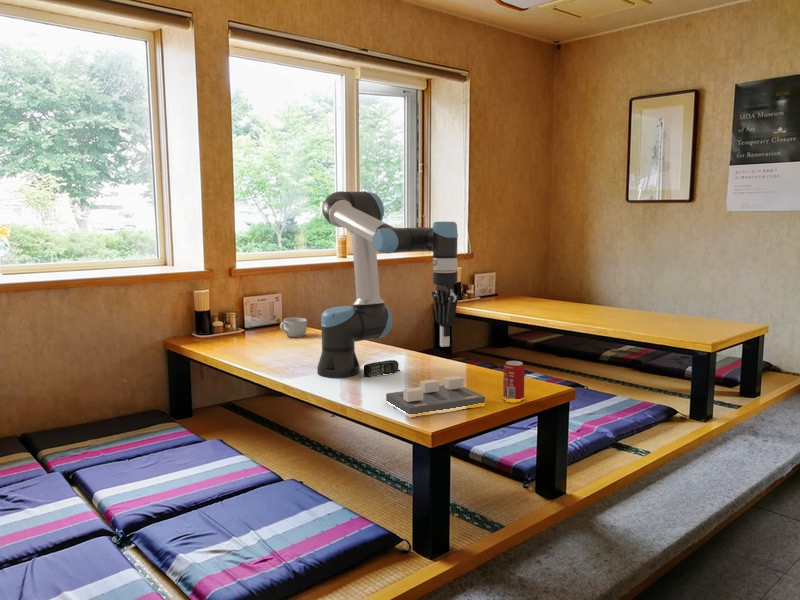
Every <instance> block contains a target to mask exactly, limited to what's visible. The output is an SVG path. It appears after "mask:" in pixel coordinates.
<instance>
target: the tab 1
mask: <svg viewBox="0 0 800 600" xmlns="http://www.w3.org/2000/svg"><path fill="white" fill-rule="evenodd" d="M402 391H403V399H404V400H405V401H407V402H411V401H418V400H423V389H421V388H420V386H417V387H410V388H409V387H408V388H403V389H402Z"/></svg>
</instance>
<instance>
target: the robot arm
mask: <svg viewBox="0 0 800 600" xmlns="http://www.w3.org/2000/svg"><path fill="white" fill-rule="evenodd" d="M321 208H322V209H321V210H322V216H323V218H324V219H325V220H326V221H327V222H328V223H329V224H330V225H332V226H334V227H335V228H336V227H337V228H344V229H345V230H347V231H348V233H350V234H351V245H352V257H353V267H354V268H353V271H354V281H355V282H354V283H355V296H356V299H355V301H354V302H353V303H352V306H351V305H341V306H339V305H338V306H334V307H330V308H327V309H325V310H324V311H323V312H322V314H321V321H320V325H321V354H320V357H319V361H318V363H317V367H316V369H317V374H318V375H319V376H321V377H325V376H326V378H347V377H346V376H349V377H353V376H356V375H359V374H360V372H361V370H360V369H361V368H360V367H361V366H360V364H359V363H360V362H359V359H358V357H357V353H356V350H355V343H357V342H361V341H369V340H376V339H381V338H384V337H386V336H387V335H388V334H389V332H390V331H391V329H392V325H393V316H392V315H393V314H392V312H391V309H390V308H389V307H387V306H386V305H385V301H384V300H383V299H382V298H381V296H380V282H379V270H378V267H379V266H378V258H377V256H378V255H377V253H379V254H392V253H393V254H394V253H406V252H408V253H409V252H410V253H412V252H432V265H433V266H432V270H433V273H432V283H433V284H434V285H436V287H435V291H432V292H431V296H432V299H433V308H434V317H435V322H436V323H438V325H439V346H440V347H442V348H444V347H445V348H446V347H450V345H451V344H450V342H451V341H450V340H451V339H450V338H451V336H450V335H451V331H450V330H451V326H452V325H455V319H456V314H457V313H456V312H457V305H458V302H459V299H460V297H459V295H456V293H455V287H454V285H457V284H458V272H457V271H458V237H459V235H458V225H457V223H456V222H455V221H434V222H433V224H432V227H425V226H416V227H394V226H393V225H389V224H387V223H386V222H384V221H383V219H384V216H385V207H384V204H383V201H382V199H381V197H379V195H378V194H377V193H375V192H371V191H366V190H365V191H343V190H341V191H335V192H333V193H331V194H329V195H328V196H326V198H325V200H324V201H323V204H322V207H321ZM352 375H353V376H352Z"/></svg>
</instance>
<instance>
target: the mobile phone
mask: <svg viewBox="0 0 800 600" xmlns="http://www.w3.org/2000/svg"><path fill="white" fill-rule="evenodd" d="M397 371H399V372H401V369H399V362H398V361H397V360H396V359H390V360H389V359H388V360H384V361H383V360H382V361H377V362H376V361H375V362H370V363H366V364H364V365H363V377H364V378H365V377H369V378H372V377H371V376H376V377H378V376H377V375H382V376H384V375H383V374H390V373H393V374H395V372H396V373H398V372H397ZM390 375H391V374H390Z"/></svg>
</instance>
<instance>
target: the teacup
mask: <svg viewBox="0 0 800 600" xmlns="http://www.w3.org/2000/svg"><path fill="white" fill-rule="evenodd" d="M307 322H308V319H306V318H304V317H303V318H302V317H285V318H284V319H283V321H282V322H281V323H279V328H280V331H282V332H284V334H285V335H286V336H287V337H290V338H300V337H299V336H301V337H303V336H304V335H305V334H306V332H307V329H308V328H307V325H308V323H307ZM302 335H303V336H302Z"/></svg>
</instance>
